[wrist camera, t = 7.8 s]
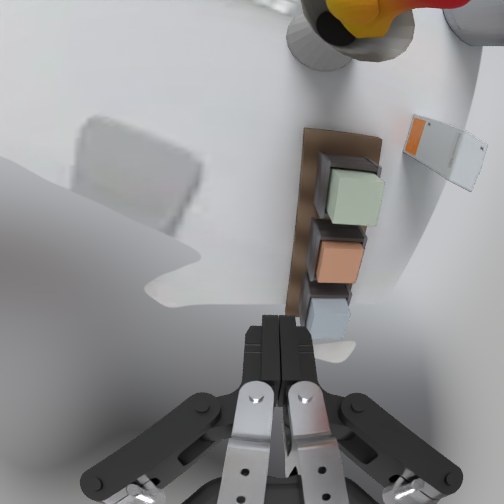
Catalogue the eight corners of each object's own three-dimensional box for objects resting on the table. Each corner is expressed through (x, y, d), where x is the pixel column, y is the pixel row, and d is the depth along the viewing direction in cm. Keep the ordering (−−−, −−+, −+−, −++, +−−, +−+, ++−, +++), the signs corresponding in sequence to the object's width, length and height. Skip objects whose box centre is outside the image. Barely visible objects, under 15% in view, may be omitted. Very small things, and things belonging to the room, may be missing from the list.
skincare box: (412, 112, 30) (465, 128, 20) (435, 124, 30) (489, 144, 20) (400, 152, 33) (448, 181, 23) (424, 162, 33) (472, 193, 23)
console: (303, 127, 32) (312, 135, 27) (378, 137, 32) (399, 147, 27) (285, 310, 48) (287, 339, 43) (340, 311, 48) (348, 338, 43)
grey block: (309, 285, 41) (314, 314, 36) (341, 286, 41) (350, 314, 36) (304, 310, 43) (308, 339, 38) (334, 310, 43) (342, 338, 38)
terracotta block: (316, 224, 37) (324, 248, 32) (351, 226, 37) (363, 249, 32) (311, 256, 40) (317, 282, 35) (344, 257, 40) (355, 283, 35)
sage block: (326, 162, 31) (339, 177, 26) (366, 166, 31) (385, 182, 26) (322, 201, 34) (332, 223, 29) (359, 204, 34) (375, 226, 29)
